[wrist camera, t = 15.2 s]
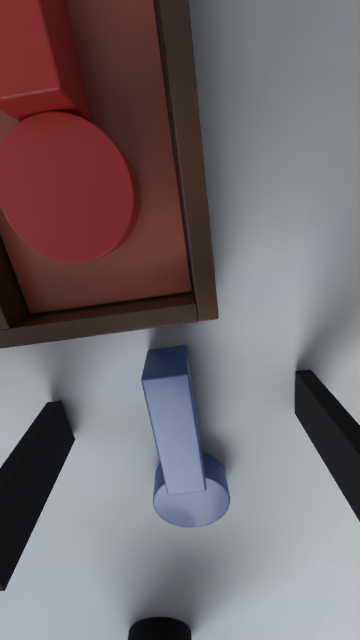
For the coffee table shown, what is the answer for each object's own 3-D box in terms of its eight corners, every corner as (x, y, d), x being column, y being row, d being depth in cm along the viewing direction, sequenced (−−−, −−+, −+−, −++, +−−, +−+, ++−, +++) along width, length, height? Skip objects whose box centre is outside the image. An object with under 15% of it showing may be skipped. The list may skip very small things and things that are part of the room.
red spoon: (-100, -181, 7) (-259, -409, 4) (67, -221, 6) (0, -483, 4) (44, 264, 11) (5, 277, 8) (149, 248, 11) (141, 257, 8)
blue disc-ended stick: (124, 352, 13) (111, 382, 11) (210, 341, 13) (218, 369, 11) (161, 504, 17) (159, 550, 15) (228, 497, 17) (236, 543, 15)
